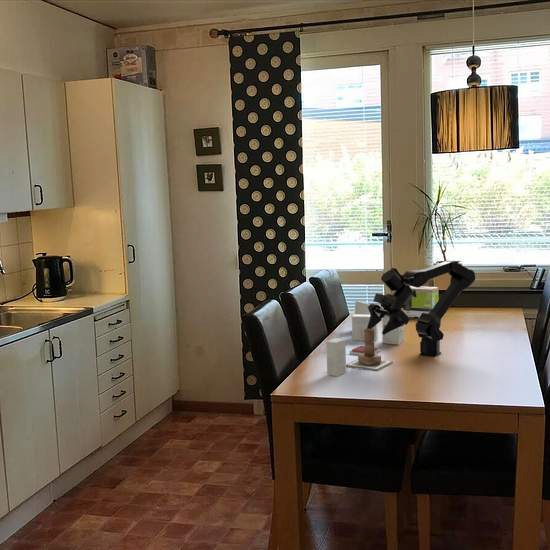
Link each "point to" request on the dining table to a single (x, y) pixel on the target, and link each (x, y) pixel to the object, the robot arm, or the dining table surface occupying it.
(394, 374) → the dining table surface
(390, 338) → the supplement box
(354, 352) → the ink pad
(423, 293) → the tea box
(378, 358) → the walnut stamp
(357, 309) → the smart speaker
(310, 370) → the dining table surface
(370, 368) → the marked board
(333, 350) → the skincare box
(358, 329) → the skincare box
